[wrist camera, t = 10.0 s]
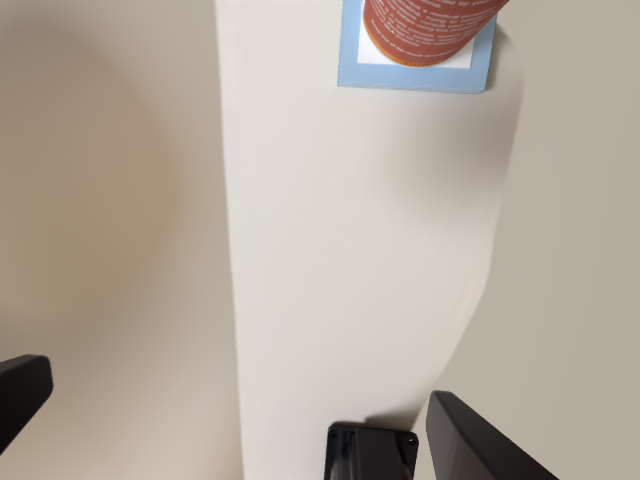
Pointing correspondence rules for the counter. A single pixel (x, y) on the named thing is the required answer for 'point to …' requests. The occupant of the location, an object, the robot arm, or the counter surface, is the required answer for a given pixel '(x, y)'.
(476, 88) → the coaster
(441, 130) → the counter surface
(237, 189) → the counter surface
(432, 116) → the counter surface
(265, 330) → the counter surface
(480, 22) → the pill bottle
